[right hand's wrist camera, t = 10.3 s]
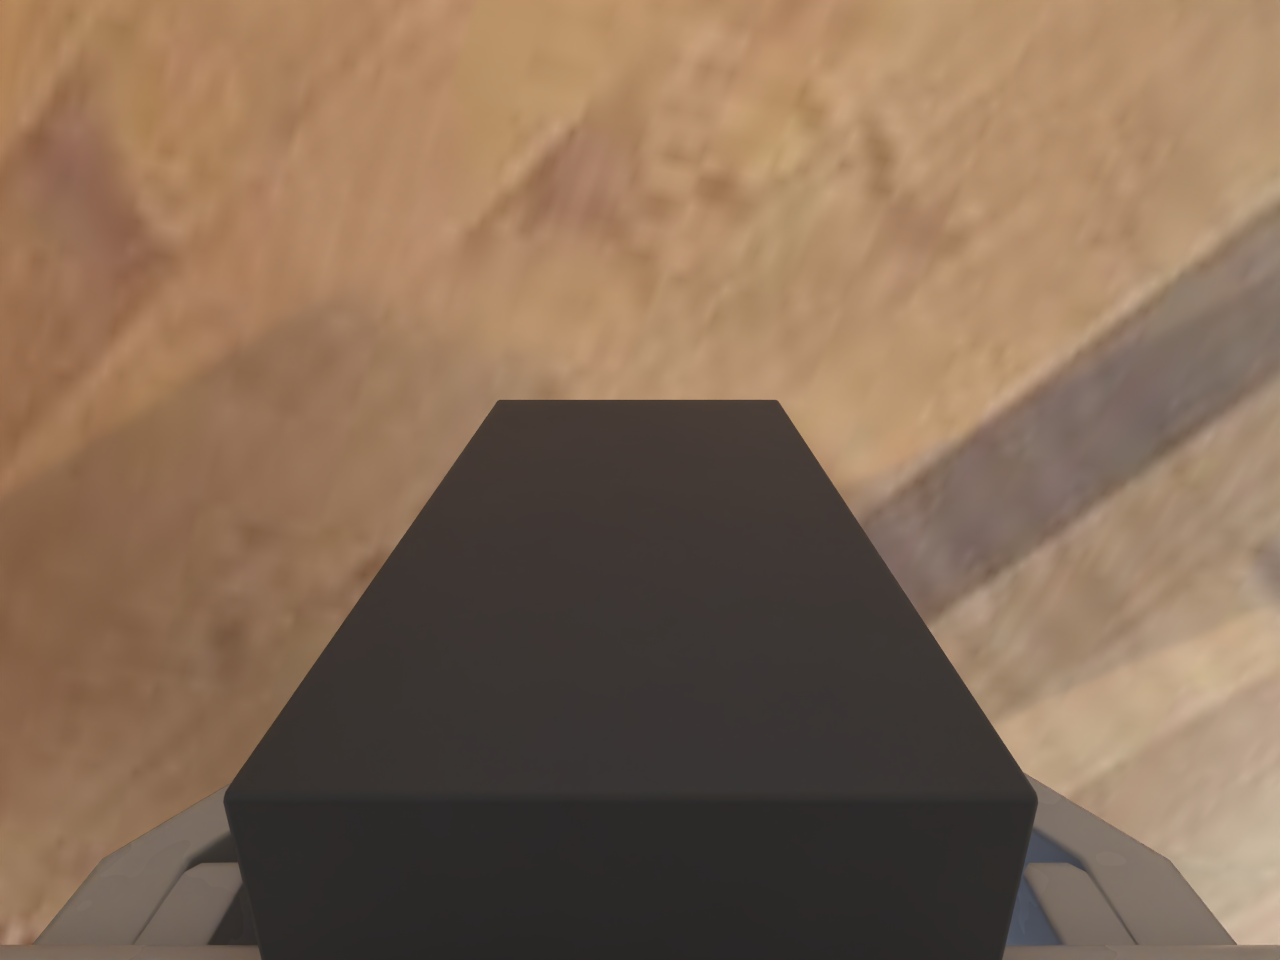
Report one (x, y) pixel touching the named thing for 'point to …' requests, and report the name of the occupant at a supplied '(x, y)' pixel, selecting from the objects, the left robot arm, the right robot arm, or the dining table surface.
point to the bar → (632, 721)
